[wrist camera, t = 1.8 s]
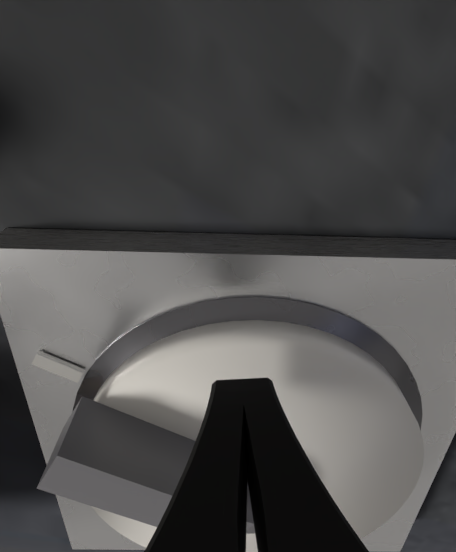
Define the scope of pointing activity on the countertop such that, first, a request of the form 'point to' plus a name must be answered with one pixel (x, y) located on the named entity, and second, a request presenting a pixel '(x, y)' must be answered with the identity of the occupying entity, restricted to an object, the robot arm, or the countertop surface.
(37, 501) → the countertop surface
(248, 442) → the robot arm
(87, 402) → the dial
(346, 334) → the dial plate
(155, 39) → the countertop surface
